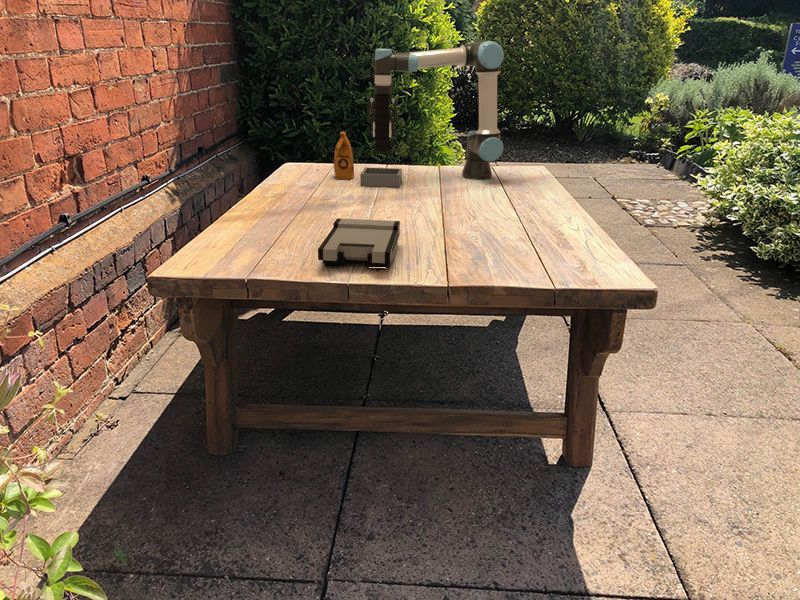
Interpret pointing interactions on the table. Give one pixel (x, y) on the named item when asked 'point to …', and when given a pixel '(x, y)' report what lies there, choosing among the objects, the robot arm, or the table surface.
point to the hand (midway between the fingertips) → (382, 136)
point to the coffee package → (343, 159)
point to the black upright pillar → (382, 124)
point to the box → (381, 177)
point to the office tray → (360, 242)
